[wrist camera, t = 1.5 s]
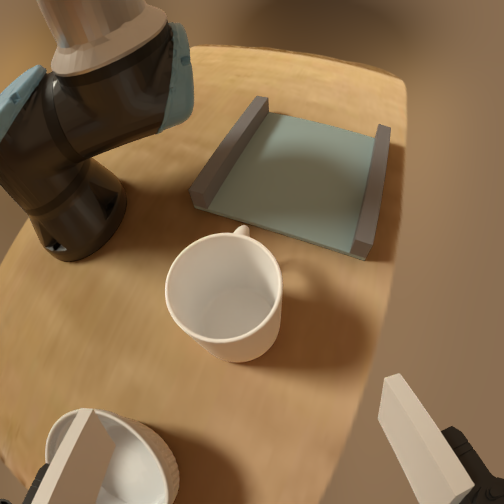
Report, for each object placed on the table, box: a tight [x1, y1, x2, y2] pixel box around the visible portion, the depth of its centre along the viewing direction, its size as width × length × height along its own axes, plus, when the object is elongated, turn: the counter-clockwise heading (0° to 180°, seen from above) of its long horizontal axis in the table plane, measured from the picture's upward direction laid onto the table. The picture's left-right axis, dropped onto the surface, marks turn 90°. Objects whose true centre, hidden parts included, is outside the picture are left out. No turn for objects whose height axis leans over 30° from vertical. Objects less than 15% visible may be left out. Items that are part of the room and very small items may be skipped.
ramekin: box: [45, 409, 180, 504], centre depth 20 cm, size 13×13×7 cm
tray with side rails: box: [188, 96, 391, 261], centre depth 39 cm, size 22×22×4 cm
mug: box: [165, 225, 283, 362], centre depth 27 cm, size 9×12×11 cm
